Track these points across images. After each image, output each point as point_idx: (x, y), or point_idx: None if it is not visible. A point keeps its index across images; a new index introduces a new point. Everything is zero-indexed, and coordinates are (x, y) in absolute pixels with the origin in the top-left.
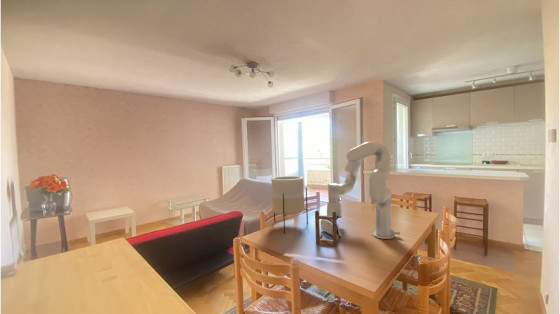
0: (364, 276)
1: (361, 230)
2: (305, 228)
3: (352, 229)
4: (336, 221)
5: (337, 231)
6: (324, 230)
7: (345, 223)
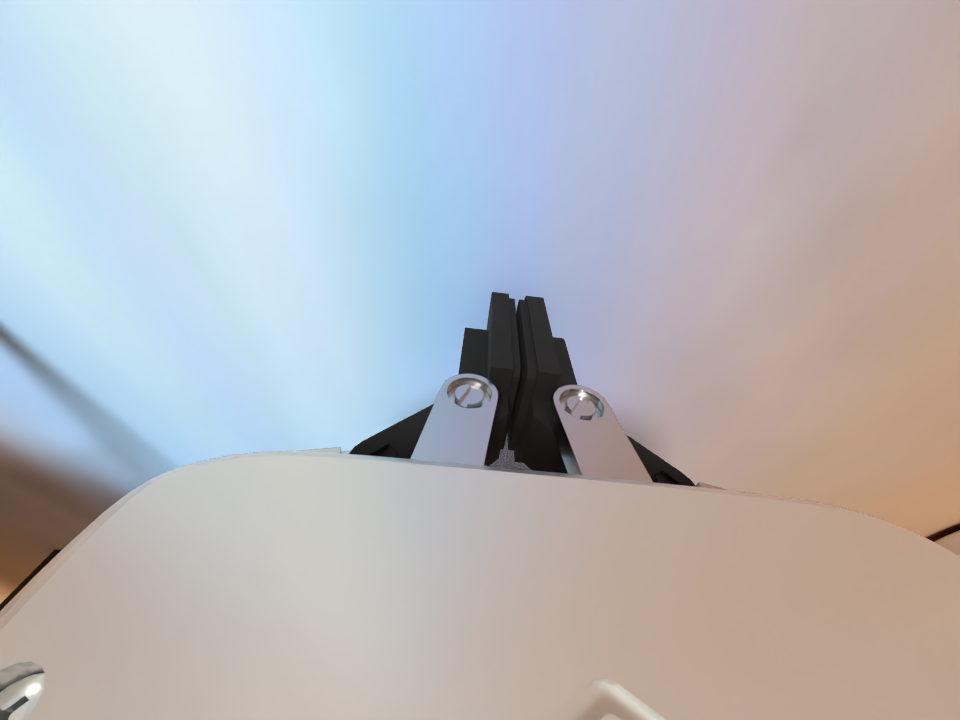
0: None
1: (903, 452)
2: (117, 453)
3: (784, 432)
4: (569, 378)
5: None
6: None
7: (894, 21)
